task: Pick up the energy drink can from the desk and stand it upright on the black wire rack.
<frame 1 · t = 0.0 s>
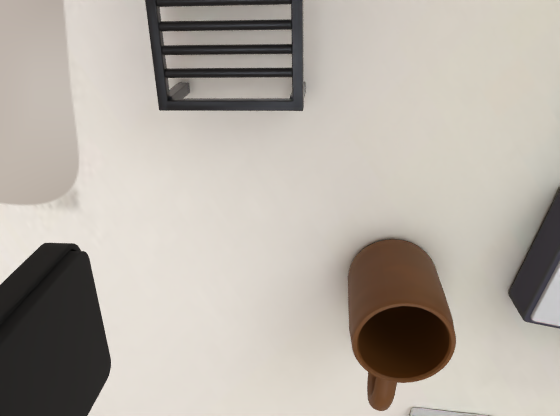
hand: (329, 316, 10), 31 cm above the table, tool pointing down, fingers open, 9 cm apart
mug: (384, 292, 46), on the table
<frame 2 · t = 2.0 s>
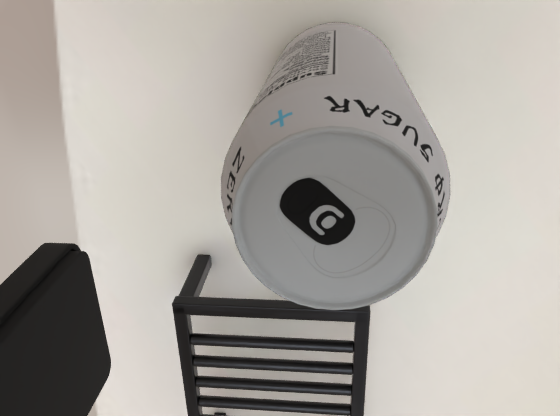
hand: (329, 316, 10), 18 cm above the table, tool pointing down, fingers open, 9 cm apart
energy drink can: (334, 83, 26), on the table
rack: (281, 348, 33), on the table
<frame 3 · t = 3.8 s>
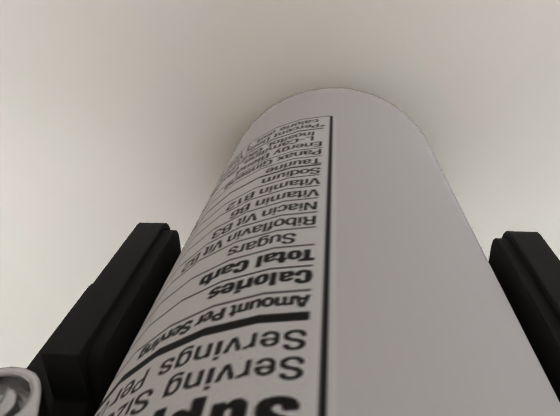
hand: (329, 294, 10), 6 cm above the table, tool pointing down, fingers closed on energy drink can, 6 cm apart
energy drink can: (331, 176, 16), on the table, touching gripper
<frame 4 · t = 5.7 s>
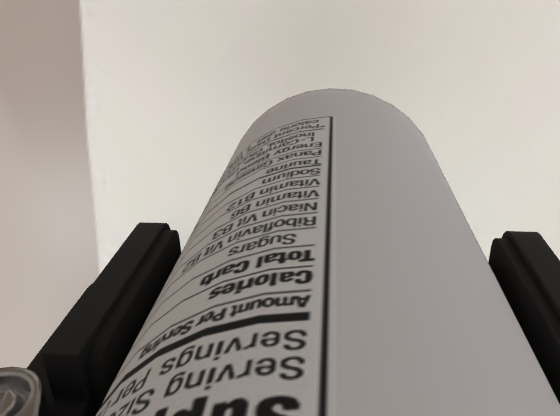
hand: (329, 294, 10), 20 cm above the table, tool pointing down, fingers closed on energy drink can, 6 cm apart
energy drink can: (331, 176, 16), point 14 cm above the table, touching gripper
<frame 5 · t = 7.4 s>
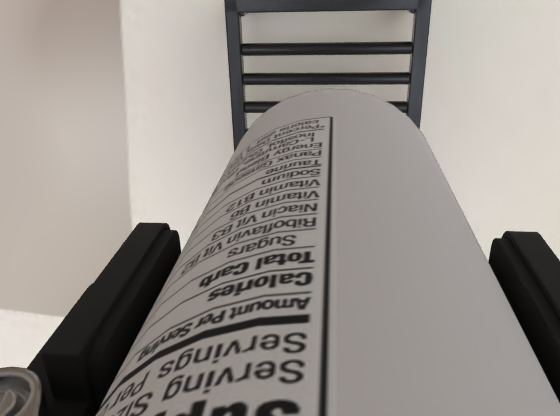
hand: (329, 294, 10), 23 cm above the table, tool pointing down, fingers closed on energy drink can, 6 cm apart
energy drink can: (331, 177, 16), point 17 cm above the table, touching gripper
rack: (325, 111, 32), on the table
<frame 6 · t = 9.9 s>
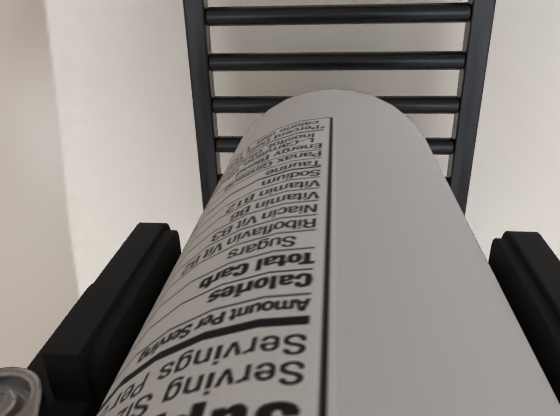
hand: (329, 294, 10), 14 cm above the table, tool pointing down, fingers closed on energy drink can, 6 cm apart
energy drink can: (331, 177, 16), point 8 cm above the table, touching gripper
rack: (332, 111, 23), on the table
when the fingers open (11 cm above the table, at t = 11.3 s): energy drink can stays where it is, resting on rack.
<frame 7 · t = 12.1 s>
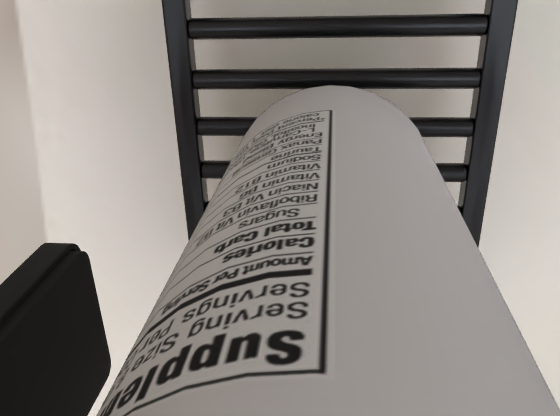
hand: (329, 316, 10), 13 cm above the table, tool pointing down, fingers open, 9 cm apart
energy drink can: (331, 170, 17), point 5 cm above the table, touching rack
rack: (331, 129, 21), on the table
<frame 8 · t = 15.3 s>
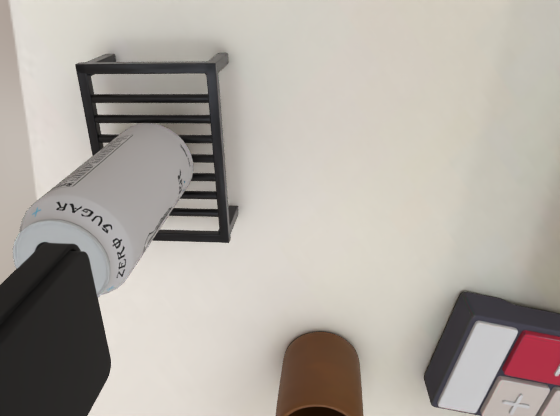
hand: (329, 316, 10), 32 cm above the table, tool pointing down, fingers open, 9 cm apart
mug: (317, 373, 53), on the table
energy drink can: (157, 157, 39), point 5 cm above the table, touching rack
rack: (175, 138, 43), on the table
calculator: (517, 351, 49), on the table
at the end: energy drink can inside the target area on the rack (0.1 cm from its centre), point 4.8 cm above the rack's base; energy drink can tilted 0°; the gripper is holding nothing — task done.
